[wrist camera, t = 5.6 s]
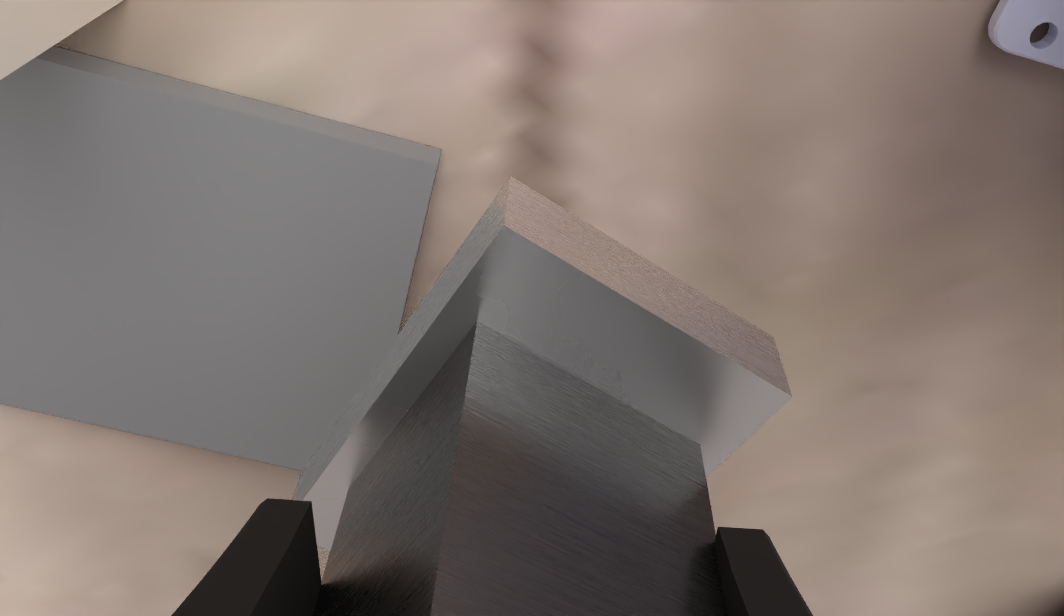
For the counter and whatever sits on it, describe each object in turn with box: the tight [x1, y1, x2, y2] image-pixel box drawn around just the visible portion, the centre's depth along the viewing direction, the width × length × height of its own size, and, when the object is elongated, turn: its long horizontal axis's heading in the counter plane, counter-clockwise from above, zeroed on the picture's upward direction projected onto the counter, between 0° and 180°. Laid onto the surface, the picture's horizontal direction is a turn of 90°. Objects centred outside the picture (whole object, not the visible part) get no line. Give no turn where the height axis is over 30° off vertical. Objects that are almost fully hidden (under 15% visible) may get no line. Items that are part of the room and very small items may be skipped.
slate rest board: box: [0, 46, 442, 471], centre depth 22 cm, size 11×10×1 cm
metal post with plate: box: [292, 177, 792, 616], centre depth 12 cm, size 5×7×8 cm
